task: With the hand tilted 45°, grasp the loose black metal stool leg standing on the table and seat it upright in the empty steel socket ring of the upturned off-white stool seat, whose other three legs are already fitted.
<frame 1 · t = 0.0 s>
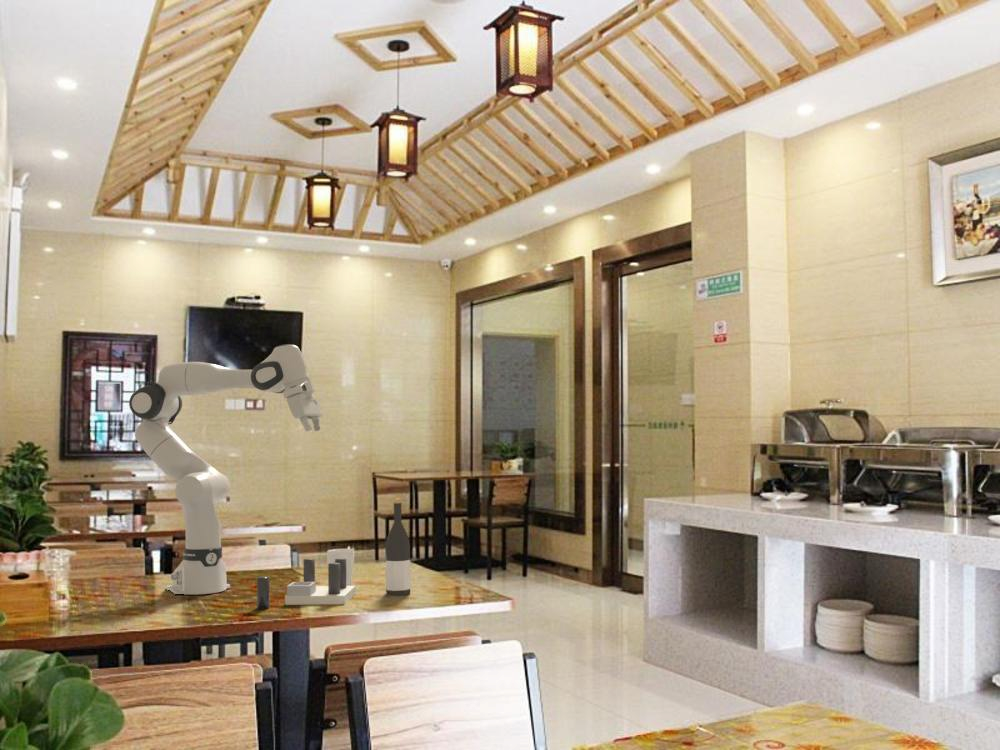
hand: (313, 430, 299), 52 cm above the table, tool tilted 20°, fingers open, 8 cm apart
cup: (340, 587, 306), on the table
stool seat: (321, 598, 283), on the table
wine bottle: (398, 594, 291), on the table
black leg: (263, 608, 269), on the table
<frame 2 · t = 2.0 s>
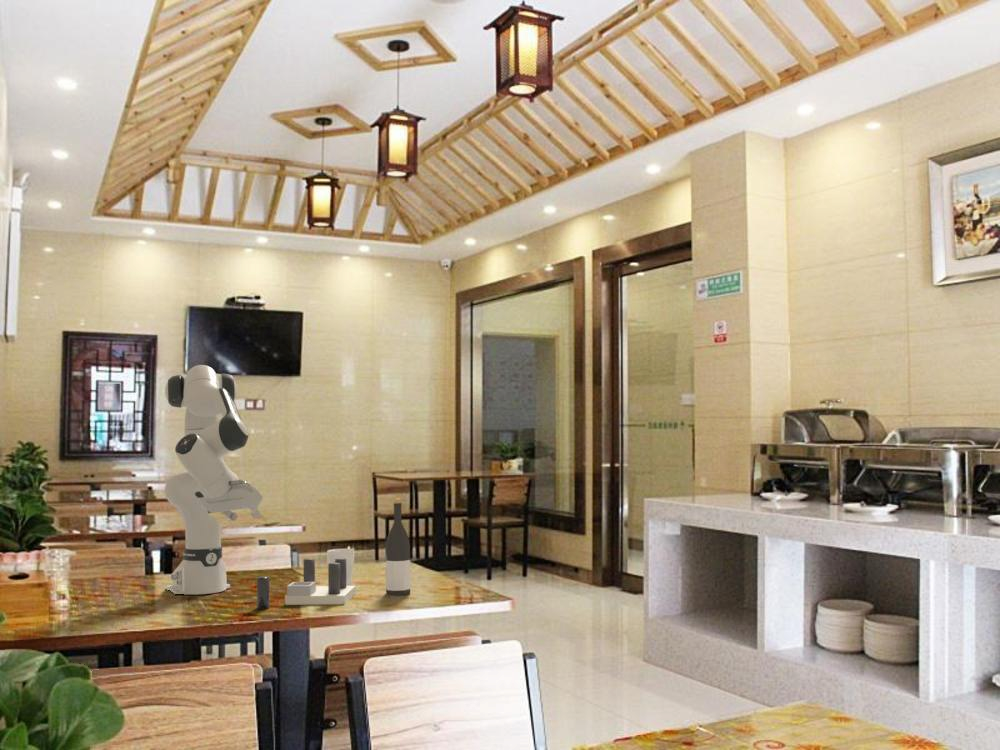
hand: (246, 517, 265), 27 cm above the table, tool tilted 40°, fingers open, 8 cm apart
nothing on the table moved.
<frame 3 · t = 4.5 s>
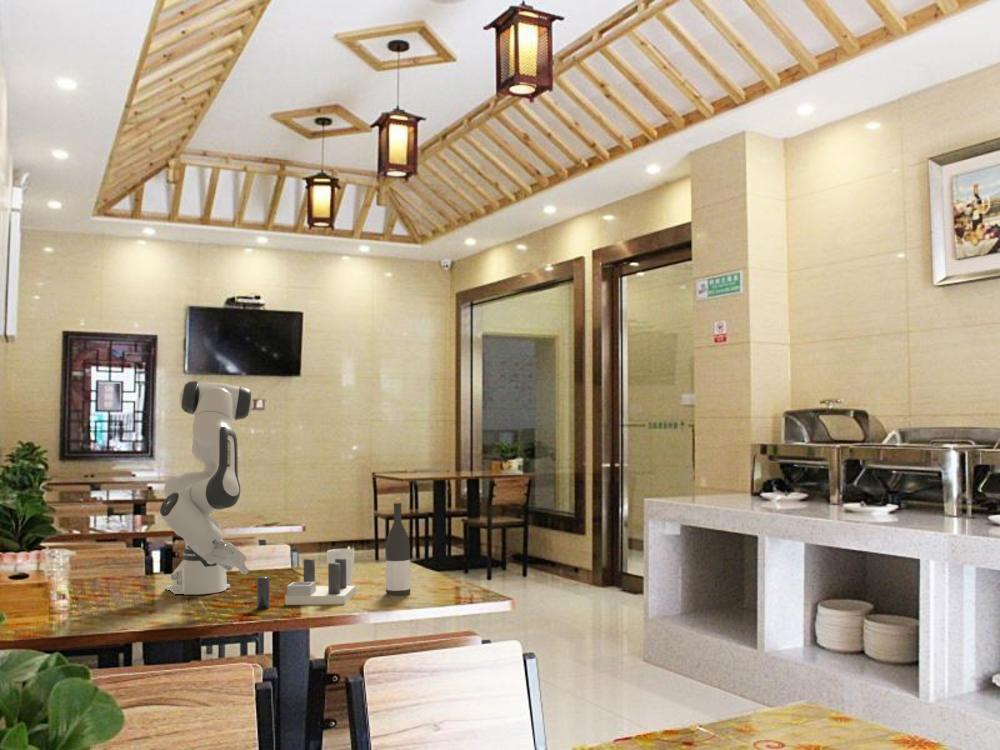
hand: (238, 570, 264), 12 cm above the table, tool tilted 45°, fingers open, 8 cm apart
nothing on the table moved.
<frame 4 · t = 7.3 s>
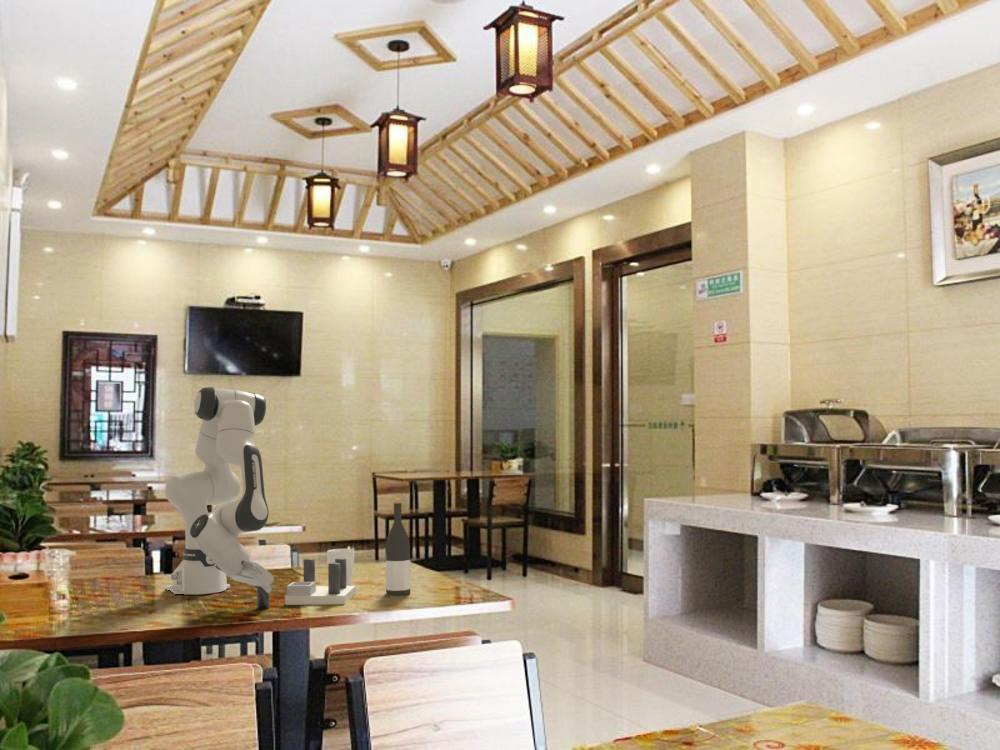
hand: (265, 590, 270), 5 cm above the table, tool tilted 45°, fingers closed on black leg, 3 cm apart
black leg: (263, 608, 269), on the table, touching gripper
everything else where it was.
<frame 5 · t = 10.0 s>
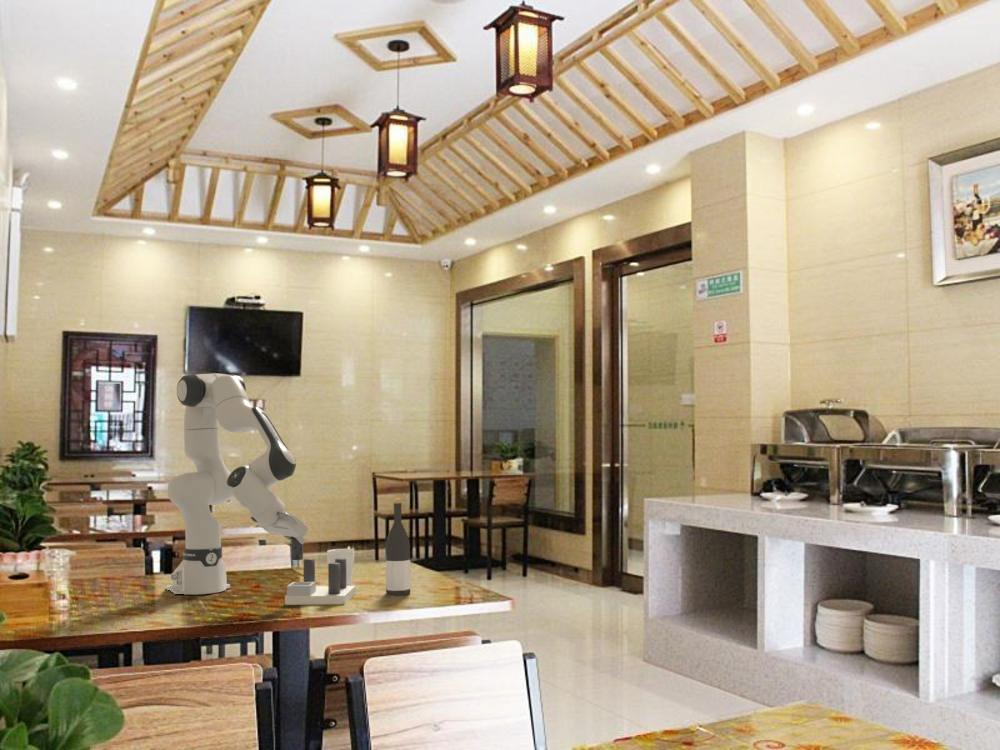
hand: (298, 541, 279), 18 cm above the table, tool tilted 45°, fingers closed on black leg, 3 cm apart
black leg: (297, 559, 278), point 13 cm above the table, touching gripper
everything else where it was.
when the fingers open (9 cm above the table, at t = 12.8 s): black leg stays where it is, resting on stool seat.
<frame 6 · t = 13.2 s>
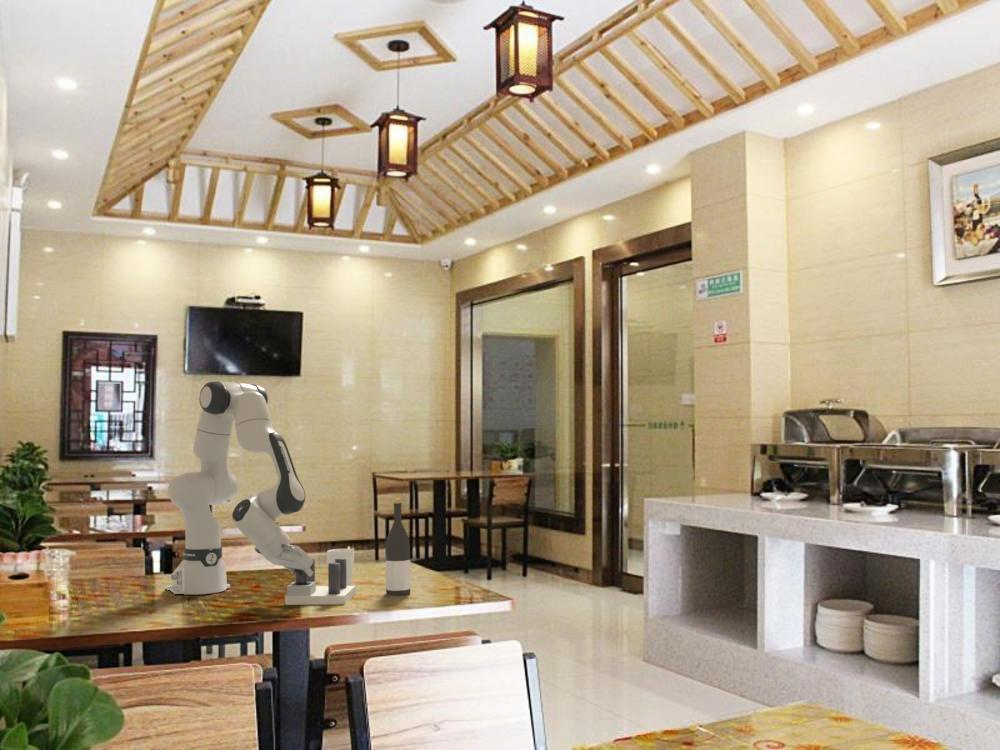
hand: (303, 573, 279), 9 cm above the table, tool tilted 45°, fingers open, 7 cm apart
black leg: (301, 593, 278), point 2 cm above the table, touching stool seat
everything else where it was.
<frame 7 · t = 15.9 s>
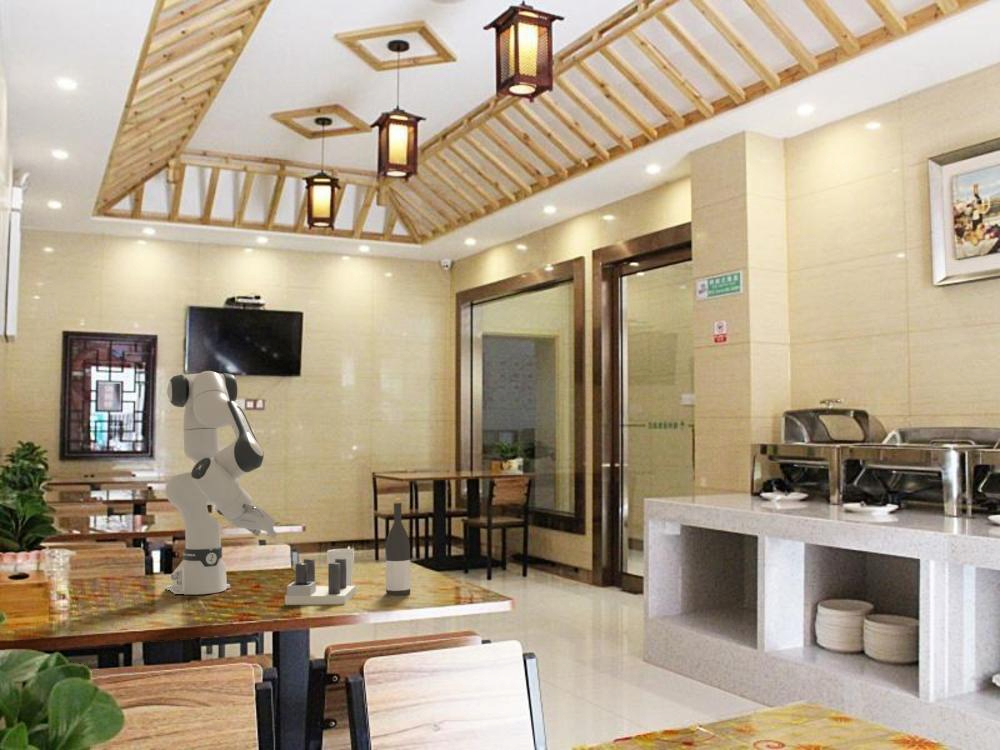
hand: (266, 535, 271), 21 cm above the table, tool tilted 45°, fingers open, 8 cm apart
nothing on the table moved.
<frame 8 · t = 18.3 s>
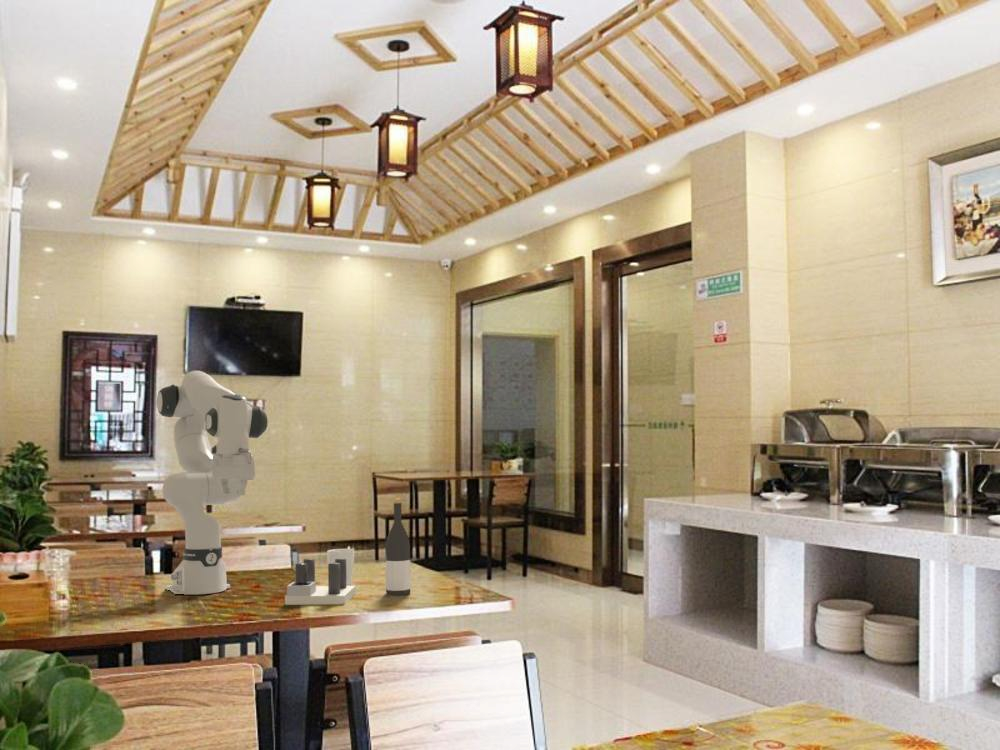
hand: (233, 494, 274), 33 cm above the table, tool pointing down, fingers open, 8 cm apart
nothing on the table moved.
at the end: black leg 0.1 cm from the target spot on the stool seat, point 2.5 cm above the stool seat's base; black leg tilted 0°; the gripper is holding nothing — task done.
